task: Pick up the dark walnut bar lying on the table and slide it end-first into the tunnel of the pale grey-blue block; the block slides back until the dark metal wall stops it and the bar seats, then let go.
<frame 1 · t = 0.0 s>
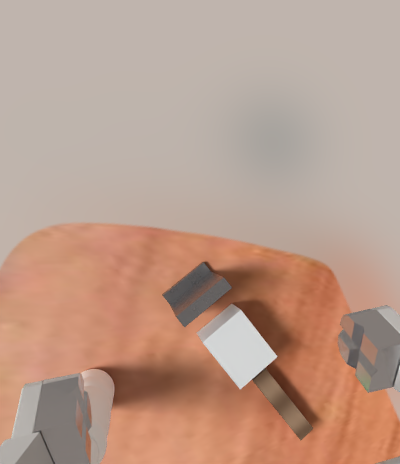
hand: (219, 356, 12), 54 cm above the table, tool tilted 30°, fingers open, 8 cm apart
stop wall: (193, 291, 66), on the table
walnut bar: (277, 397, 69), on the table
tunnel block: (235, 344, 64), point 3 cm above the table, slide at 0.0 cm
water bottle: (93, 388, 63), on the table
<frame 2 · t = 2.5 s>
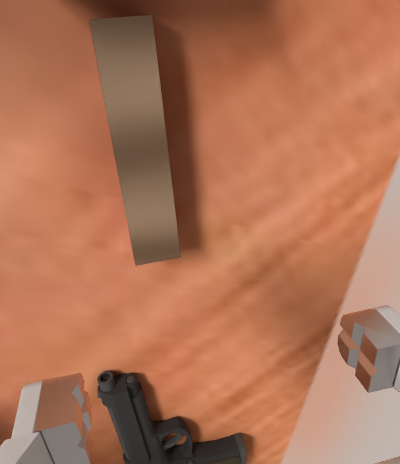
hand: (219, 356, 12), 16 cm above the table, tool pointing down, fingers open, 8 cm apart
walnut bar: (137, 144, 24), on the table
handgun: (177, 416, 38), on the table
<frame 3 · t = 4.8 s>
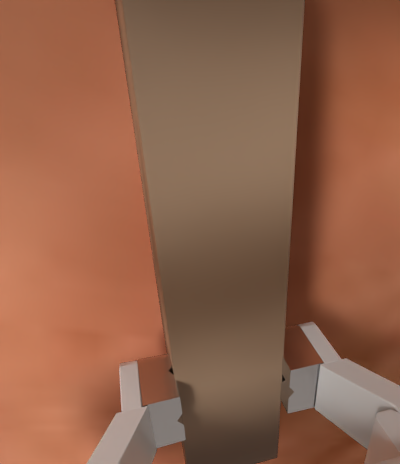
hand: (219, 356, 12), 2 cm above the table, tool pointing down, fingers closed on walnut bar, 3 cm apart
walnut bar: (200, 240, 12), on the table, touching gripper
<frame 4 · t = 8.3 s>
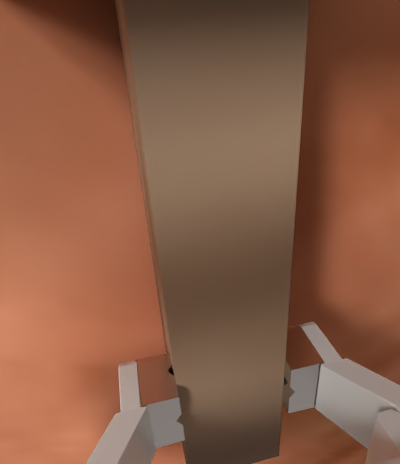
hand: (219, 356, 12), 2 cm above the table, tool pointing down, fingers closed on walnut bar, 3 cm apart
walnut bar: (200, 235, 11), point 1 cm above the table, touching gripper
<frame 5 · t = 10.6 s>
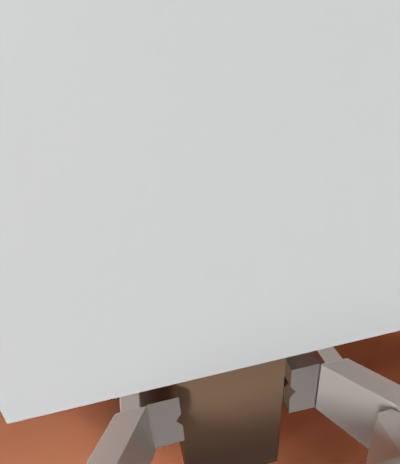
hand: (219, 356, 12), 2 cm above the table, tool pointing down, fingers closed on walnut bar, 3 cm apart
walnut bar: (202, 242, 11), point 1 cm above the table, touching gripper, tunnel block
tunnel block: (208, 5, 6), point 3 cm above the table, slide at 5.0 cm, touching walnut bar
when the fingers open (2 cm above the table, at t = 11.7 s): walnut bar stays where it is, on the table.
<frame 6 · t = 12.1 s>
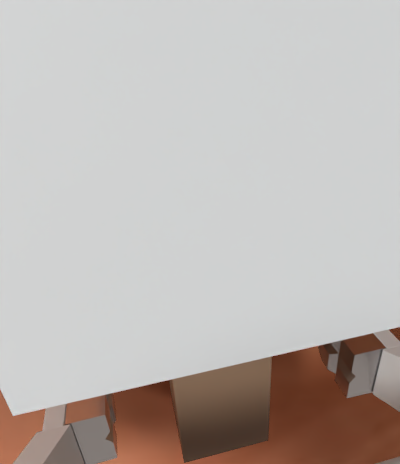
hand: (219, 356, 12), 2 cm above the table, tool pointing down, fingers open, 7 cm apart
walnut bar: (194, 233, 12), on the table
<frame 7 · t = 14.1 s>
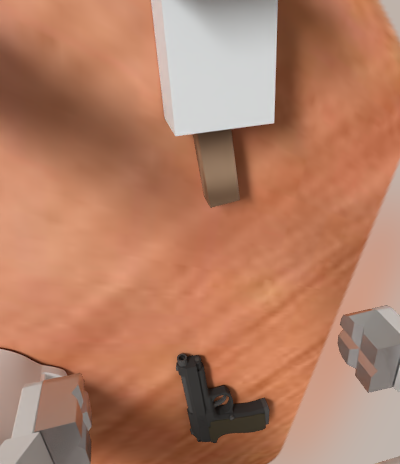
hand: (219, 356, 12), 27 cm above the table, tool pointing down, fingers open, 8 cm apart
walnut bar: (206, 125, 36), on the table
handgun: (222, 385, 55), on the table
tunnel block: (213, 56, 30), point 3 cm above the table, slide at 5.0 cm
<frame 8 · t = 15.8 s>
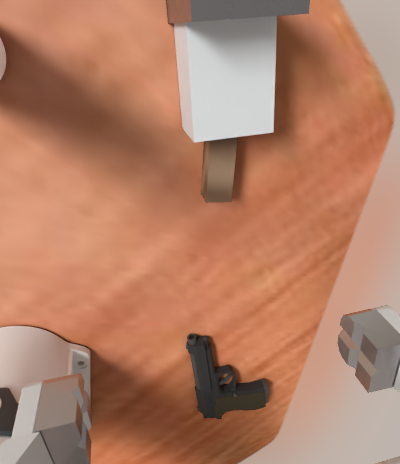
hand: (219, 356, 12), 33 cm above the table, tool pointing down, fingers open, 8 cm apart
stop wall: (213, 8, 37), on the table
walnut bar: (216, 134, 43), on the table
handgun: (226, 365, 61), on the table
tunnel block: (224, 78, 37), point 3 cm above the table, slide at 5.0 cm
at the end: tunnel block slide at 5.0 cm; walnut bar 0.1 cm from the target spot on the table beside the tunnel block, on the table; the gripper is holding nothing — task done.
